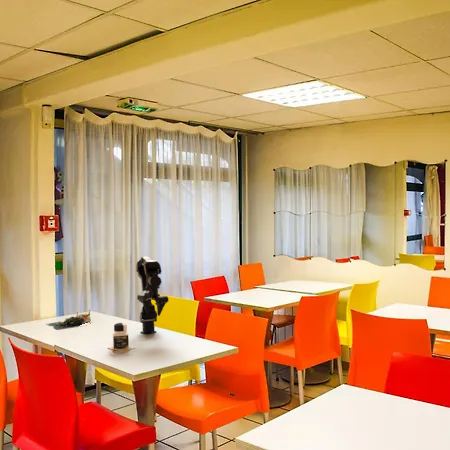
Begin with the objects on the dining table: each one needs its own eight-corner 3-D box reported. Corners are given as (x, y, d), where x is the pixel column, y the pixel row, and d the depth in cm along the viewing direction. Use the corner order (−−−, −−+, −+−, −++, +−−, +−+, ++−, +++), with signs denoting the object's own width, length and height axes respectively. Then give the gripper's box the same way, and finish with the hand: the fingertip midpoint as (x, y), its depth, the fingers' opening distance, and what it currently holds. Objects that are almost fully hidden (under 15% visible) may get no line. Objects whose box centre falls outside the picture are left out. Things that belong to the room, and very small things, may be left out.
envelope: (107, 348, 255) (107, 347, 255) (121, 345, 261) (121, 344, 261) (121, 352, 248) (121, 351, 248) (135, 348, 254) (135, 347, 254)
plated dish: (91, 316, 338) (91, 305, 338) (111, 324, 316) (110, 312, 316) (37, 325, 316) (37, 314, 316) (54, 334, 295) (54, 321, 294)
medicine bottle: (113, 350, 250) (113, 325, 249) (113, 346, 257) (112, 322, 256) (128, 349, 251) (128, 324, 251) (127, 345, 258) (127, 321, 258)
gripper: (128, 285, 271) (129, 315, 271) (152, 288, 258) (152, 319, 259) (145, 282, 279) (146, 311, 279) (168, 285, 266) (169, 315, 267)
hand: (153, 314), depth 271 cm, fingers open, 9 cm apart
